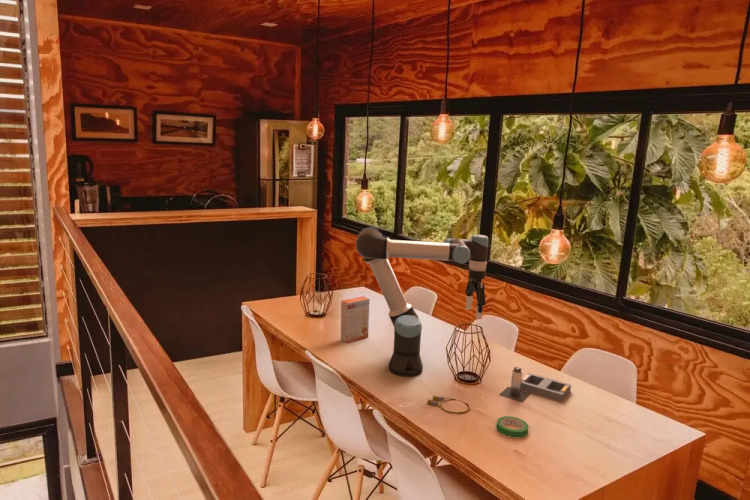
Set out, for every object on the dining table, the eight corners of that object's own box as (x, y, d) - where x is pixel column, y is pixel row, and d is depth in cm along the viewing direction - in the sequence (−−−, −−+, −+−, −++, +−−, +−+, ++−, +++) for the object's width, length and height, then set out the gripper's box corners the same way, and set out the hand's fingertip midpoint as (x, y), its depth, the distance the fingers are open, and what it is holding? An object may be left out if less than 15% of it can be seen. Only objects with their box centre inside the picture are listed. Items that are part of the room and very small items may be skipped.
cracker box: (361, 334, 287) (362, 295, 283) (368, 338, 282) (370, 298, 278) (339, 339, 278) (340, 299, 274) (346, 343, 274) (348, 303, 269)
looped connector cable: (443, 394, 225) (444, 390, 224) (475, 409, 214) (476, 404, 213) (424, 403, 216) (424, 398, 216) (456, 419, 205) (456, 414, 205)
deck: (522, 404, 218) (522, 402, 218) (498, 397, 224) (498, 394, 223) (531, 395, 226) (531, 393, 226) (507, 388, 232) (508, 386, 231)
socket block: (561, 404, 220) (562, 394, 219) (517, 390, 230) (518, 381, 229) (570, 393, 230) (571, 384, 229) (527, 381, 240) (528, 372, 239)
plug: (517, 397, 222) (520, 371, 220) (508, 394, 224) (511, 368, 222) (521, 394, 225) (524, 368, 223) (512, 391, 227) (514, 365, 225)
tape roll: (527, 425, 203) (527, 418, 203) (528, 440, 192) (529, 433, 192) (496, 420, 205) (497, 414, 205) (495, 435, 195) (496, 428, 194)
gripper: (495, 276, 238) (491, 323, 243) (475, 263, 262) (472, 305, 267) (479, 276, 237) (475, 323, 241) (460, 262, 261) (457, 306, 265)
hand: (473, 314), depth 254 cm, fingers open, 13 cm apart
